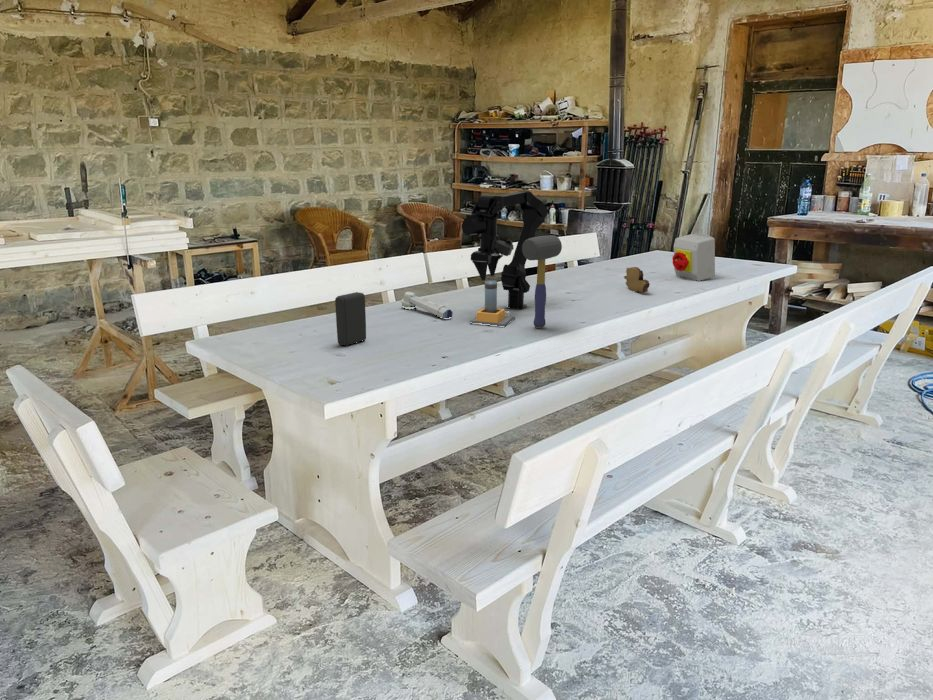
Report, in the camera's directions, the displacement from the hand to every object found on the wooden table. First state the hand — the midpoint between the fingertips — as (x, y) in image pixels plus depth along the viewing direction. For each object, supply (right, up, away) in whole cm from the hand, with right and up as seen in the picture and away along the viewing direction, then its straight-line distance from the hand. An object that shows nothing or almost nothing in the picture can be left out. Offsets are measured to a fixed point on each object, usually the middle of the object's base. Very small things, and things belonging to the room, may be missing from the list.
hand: (488, 277), depth 241 cm
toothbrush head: (-22, -12, +6) cm, 26 cm away
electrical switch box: (+92, +7, +68) cm, 115 cm away
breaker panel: (+1, -15, -6) cm, 17 cm away
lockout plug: (+1, -15, -8) cm, 17 cm away
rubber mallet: (+16, -18, -14) cm, 28 cm away
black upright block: (-42, -23, -31) cm, 57 cm away
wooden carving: (+62, -1, +42) cm, 74 cm away
